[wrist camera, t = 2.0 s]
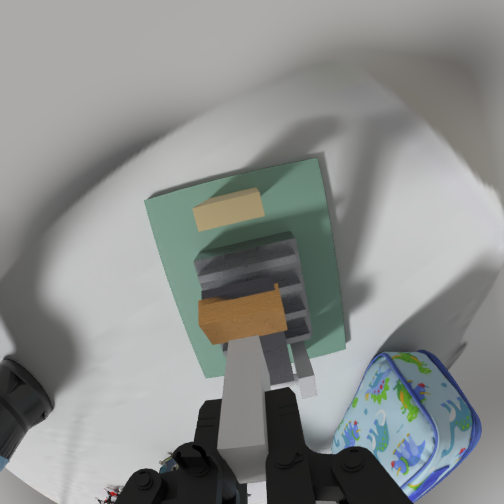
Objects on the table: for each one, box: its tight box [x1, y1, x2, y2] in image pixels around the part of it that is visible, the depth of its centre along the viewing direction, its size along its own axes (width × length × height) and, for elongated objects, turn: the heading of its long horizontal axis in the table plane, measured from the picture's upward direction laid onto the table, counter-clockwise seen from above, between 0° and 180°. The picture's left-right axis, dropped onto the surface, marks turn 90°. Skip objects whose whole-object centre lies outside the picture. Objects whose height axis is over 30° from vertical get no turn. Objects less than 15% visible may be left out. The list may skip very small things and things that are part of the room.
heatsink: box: [193, 231, 313, 357], centre depth 29 cm, size 10×11×6 cm
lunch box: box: [331, 350, 482, 503], centre depth 29 cm, size 26×11×21 cm, turn 172°
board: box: [144, 158, 346, 399], centre depth 28 cm, size 19×24×10 cm
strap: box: [198, 276, 294, 386], centre depth 20 cm, size 4×16×2 cm, turn 13°
